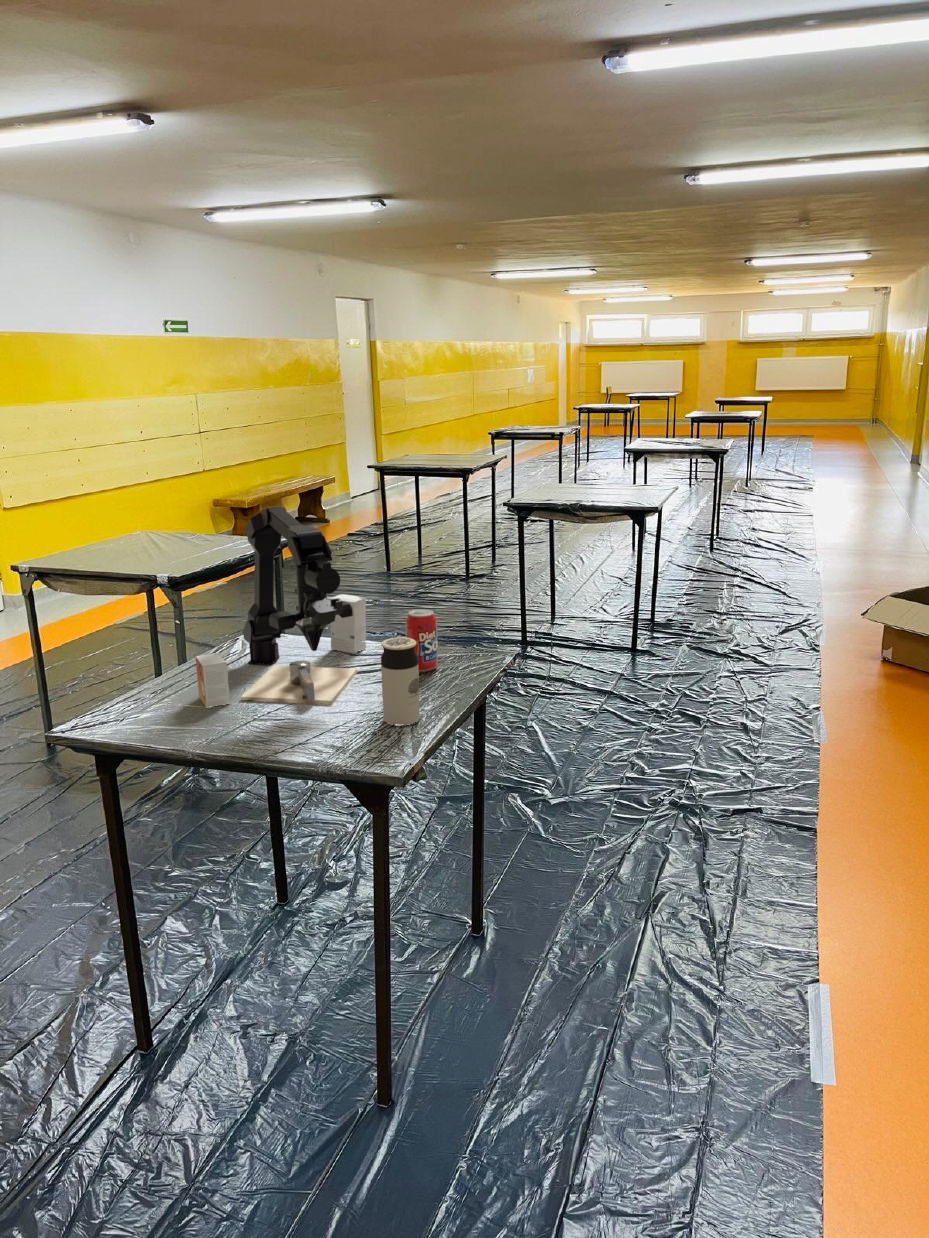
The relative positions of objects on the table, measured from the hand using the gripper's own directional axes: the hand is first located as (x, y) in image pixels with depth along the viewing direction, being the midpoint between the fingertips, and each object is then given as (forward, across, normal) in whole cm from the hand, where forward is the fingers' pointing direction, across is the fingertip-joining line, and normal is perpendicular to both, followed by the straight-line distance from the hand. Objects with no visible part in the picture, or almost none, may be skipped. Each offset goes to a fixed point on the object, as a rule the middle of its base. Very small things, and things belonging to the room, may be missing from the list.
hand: (314, 650), depth 202 cm
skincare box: (+12, +24, +27) cm, 38 cm away
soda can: (+12, +31, +2) cm, 33 cm away
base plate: (+12, +1, +10) cm, 15 cm away
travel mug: (+12, +8, -24) cm, 28 cm away
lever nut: (+10, -1, +6) cm, 12 cm away
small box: (+12, -20, +13) cm, 27 cm away
